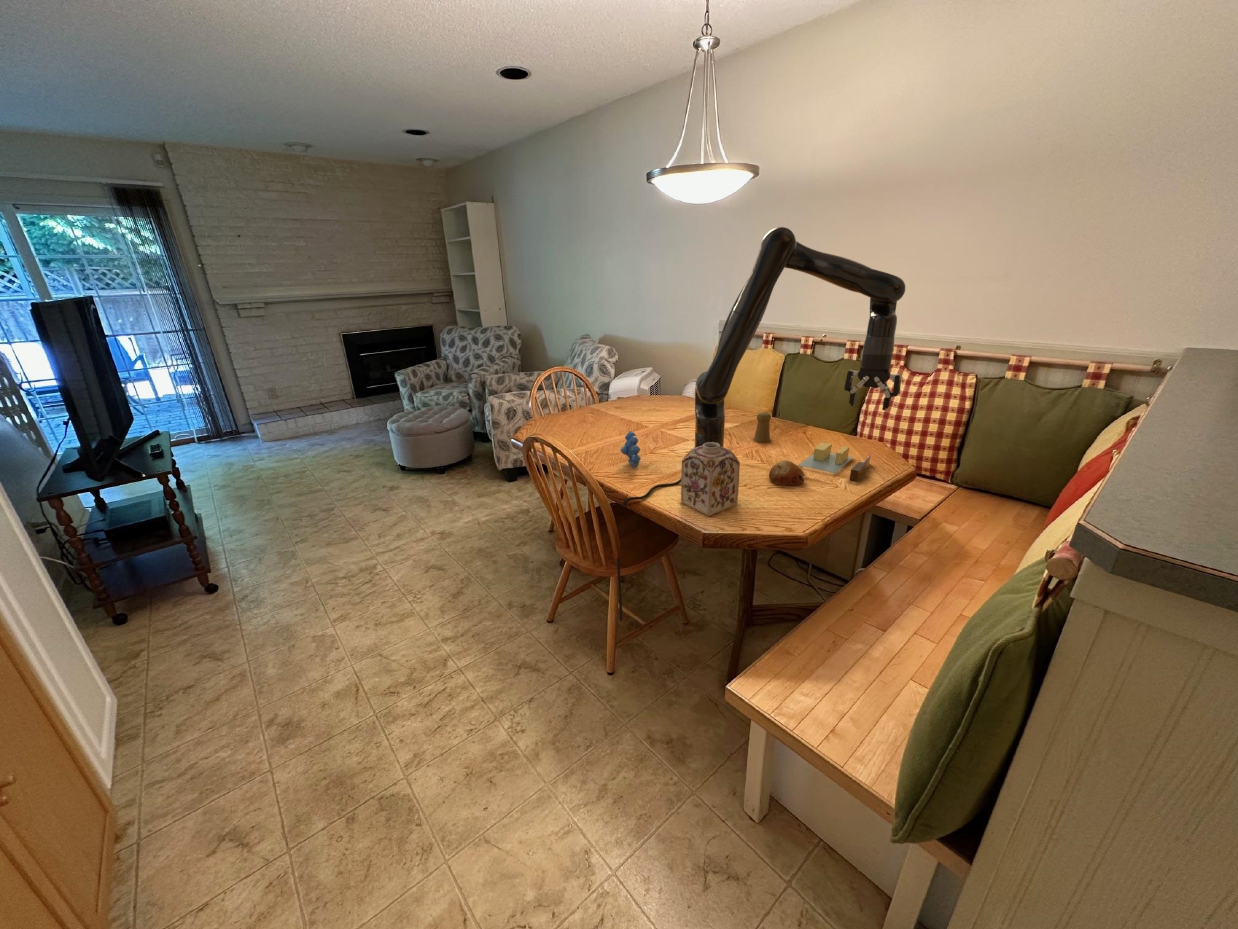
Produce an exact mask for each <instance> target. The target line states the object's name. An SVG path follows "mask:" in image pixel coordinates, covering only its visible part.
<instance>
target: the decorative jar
mask: <svg viewBox="0 0 1238 929" xmlns="http://www.w3.org/2000/svg"><path fill="white" fill-rule="evenodd" d="M694 447H695V446H694ZM694 447H693V448H691V449H690V450H689V451H688V452H687V453H686V454H685V455H684V457H683V458H682V459H681V475H680V479H681V482H680V503H681V504H684V505H685V506H688V507H690V508H692V509H693V510H696V511H697V512H699V513H702V514H704V515H706V516H708V517H710V516H712V515H715V514H717V513H720V512H722V511H723V512H724V511H725V510H727V509H730V508H732V507H735V506H737V505H738V502H739V487H740V470H741V468H740V466H741V462H740V460H739V459H738V457H737V456H736V454H735V453H733V451H732V450H731V449H729V448H726V447H720V444H718V443H715V442H708V443H704V444H703V446H699V447H695V448H694Z"/></svg>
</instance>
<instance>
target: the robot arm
mask: <svg viewBox="0 0 1238 929" xmlns="http://www.w3.org/2000/svg"><path fill="white" fill-rule="evenodd" d="M760 243H761V244H760V247H759V251H758V253H757V257H756V259H755V262H754V265H753V267H752V270H751V272H750V274H749V277H748V279H747V280H746V282H745V283H744V285H743V287H742V289H741V290H740V292H739V294H738V296H737V298H736V299H735V301H734V303H733V305H732V307H731V309H730V311H729V313H728V316H726V317H727V318H726V320H725V321H724V324H723V327H722V330H721V334H720V337H719V341H718V346H717V349H716V352H715V356H714V358H713V360H712V361H711V364H710V366H709V368H708V369H707V370H706V371H703V372H702V373H701V374H699V375H698V376H697V378H696V380H695V387H694V418H695V419H694V421H695V422H694V447H693V448H695V447H699V446H703V444H704V443H708V442H715V443H718V444H720V447H723V448H725V447H724V446H725V445H724V444H725V426H726V425H725V424H726V412H725V398H726V397H727V395H728V392H729V390H730V387H731V384H732V381H733V380H734V376H735V373H736V371H737V368H738V366H739V364H740V363H741V361H742V359H743V357H744V355H745V353H746V352H747V349H748V347H749V346H750V344H751V342H752V340H753V338H754V336H755V335H756V332H757V330H758V328H759V325H760V324H761V322H762V320H763V317H764V315H765V313H766V310H767V307H768V305H769V302H770V299H771V296H772V293H773V290H774V288H775V286H776V285H777V282H778V280H779V278H780V276H781V274H782V273H783V271H784V270H785V269H788V270H790V269H791V270H793V271H796V272H797V271H798V272H801V273H804V274H806V275H810V276H813V277H815V278H817V279H820V280H822V281H824V282H826V283H829V284H832V285H834V286H837V287H839V288H841V289H844V290H847V291H849V292H853V293H857V294H861V295H863V296H865V297H867V298H869V318H868V323H867V329H866V335H865V339H864V342H863V348H862V353H861V354H862V355H861V359H860V360H861V361H860V368H859V370H858V371H857V370H855V369H850V370H848V371H847V373H846V378H845V383H844V386H843V387H844V388H843V389H844V390H843V391H846V392H849V399H848V400H849V401H848V403H849V405H850V406H851V407H855V406H856V403H857V398H858V391H859V390H860V389H861V388H862V387H864V388H873V389H878V388H879V389H880V391H881V392H882V393H883V395H884V398H883V402H882V409H881V410H882V411H886V410H887V409H889V408H890V406H891V402H892V401H891V400H892V398H895V397H898V396H899V395H900V394H901V385H902V374H901V373H897V374H891V371H890V370H891V366H892V359H893V353H894V351H895V348H894V347H895V337H896V336H895V335H896V330H897V324H898V316H897V313H896V310H897V305H898V304H897V303H898V301H899V300H901V299H902V298H903V297H904V295H905V293H906V284H905V281H904V280H903V279H902V278H901V277H900V276H898V275H896V274H895V275H894V274H891V273H888V272H885V271H882V270H878V269H875V268H872V267H870V266H867V265H866V264H864V263H861V262H858V261H855V260H853V259H850V258H847V257H844V256H841V255H836V254H832V253H828V252H823V251H819V250H816V249H814V248H810V247H808V246H806V245H804V244H802V243H800V242H799V241H797V239H796V236H795V234H794V232H793V231H792V230H791V229H790V228H788V227H786V226H779V227H776V228H775V227H774V228H773V229H771V230H769V231H768V232H767V233H766V234H765V235H764V237H763V238H762V240H761V242H760ZM856 376H857V378H858V379H859V382H858V383H857V384H856V385H855V386H854V387H853V386H852V385H853V379H855V378H856ZM889 380H891V382H892V383H893V390H891V389H890V387H889V385H888V383H887V382H888V381H889ZM679 484H681V478H679V479H678V480H677V481H674V482H671V483H661V484H656V485H654V486H652V487H651V488H650V489H649V490H648V491H647V492H646V493H645V494H643V495H641V496H630V497H627V498H626V499H624V500H623V501H622V503H621V506H625V505H626V504H627V502H630V501H635V500H637V501H639V500H640V501H641V500H644V499H646V498H648V496H649V497H650V495H651V493H653V491H654V490H656V489H659V488H665V487H673V486H676V485H679ZM616 569H617V588H618V606H619V608H618V609H619V621H620V622H622V621H623V596H622V580H621V578H622V577H621V557H620V556H619V557H616Z"/></svg>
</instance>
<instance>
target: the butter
mask: <svg viewBox="0 0 1238 929" xmlns="http://www.w3.org/2000/svg"><path fill="white" fill-rule="evenodd" d="M832 447H833V446H832V443H830V442H821V443H819V444H818V445H817V446H816V447H814V449H813V454H814V456H813V459H814V460H818V461H823V460H825V459H826V458H827V457H828V456H829V455H830V454H831V453H832Z"/></svg>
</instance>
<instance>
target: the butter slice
mask: <svg viewBox="0 0 1238 929" xmlns="http://www.w3.org/2000/svg"><path fill="white" fill-rule="evenodd" d="M849 452H850V446H845V445H843V446H842V447H841V448H840V449H839V450H837V452H836V453H835V454H836V459H835V464H838V465H841V464H842V463H843V462H844V461H845V460H846V459H847V458H848V456H849V454H850V453H849Z"/></svg>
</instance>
